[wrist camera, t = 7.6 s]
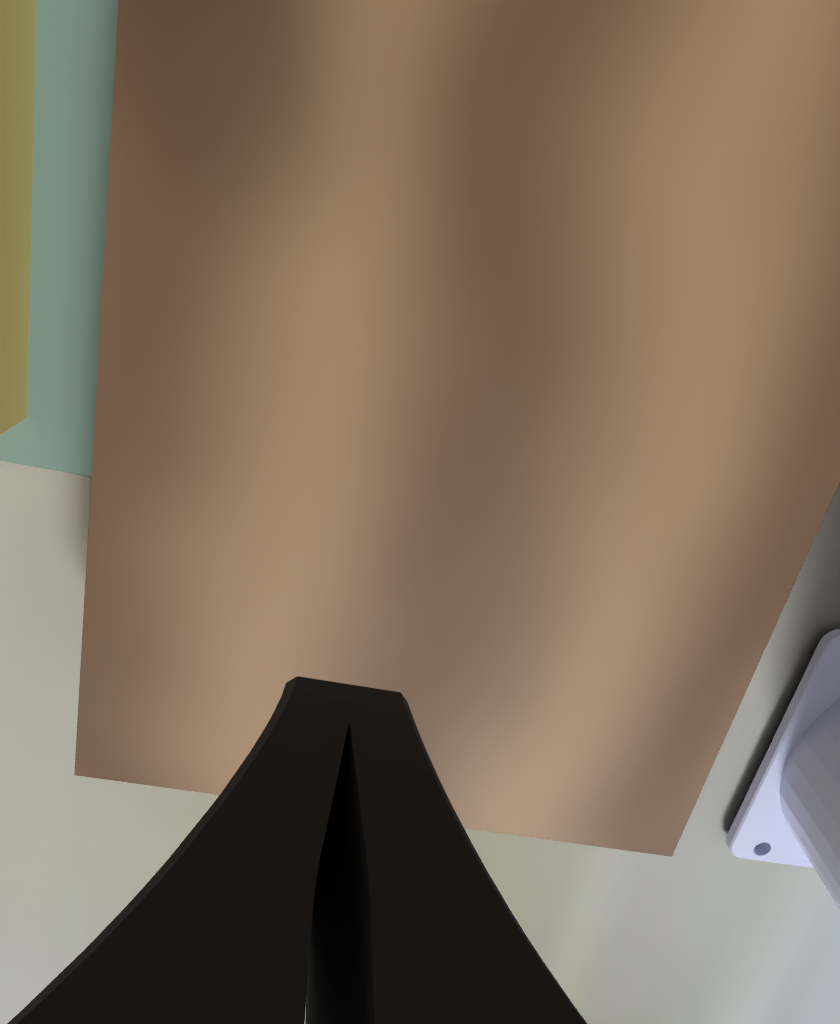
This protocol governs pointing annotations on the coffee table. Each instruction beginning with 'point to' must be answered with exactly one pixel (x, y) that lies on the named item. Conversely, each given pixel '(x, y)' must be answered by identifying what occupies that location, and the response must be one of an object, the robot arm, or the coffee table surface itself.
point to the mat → (67, 232)
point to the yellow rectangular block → (15, 202)
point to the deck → (462, 385)
